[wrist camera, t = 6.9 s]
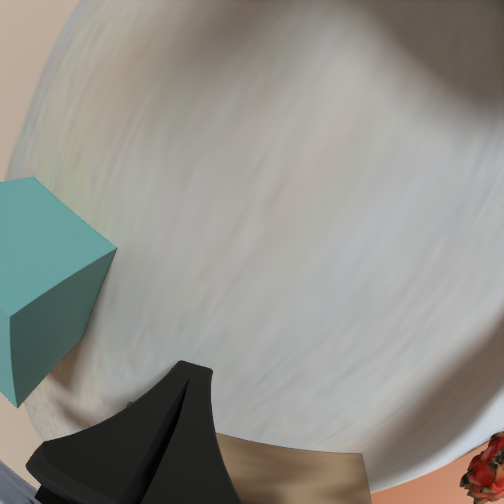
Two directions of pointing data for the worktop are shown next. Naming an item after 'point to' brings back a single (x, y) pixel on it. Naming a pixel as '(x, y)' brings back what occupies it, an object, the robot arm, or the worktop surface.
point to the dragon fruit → (486, 473)
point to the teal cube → (43, 283)
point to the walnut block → (292, 474)
